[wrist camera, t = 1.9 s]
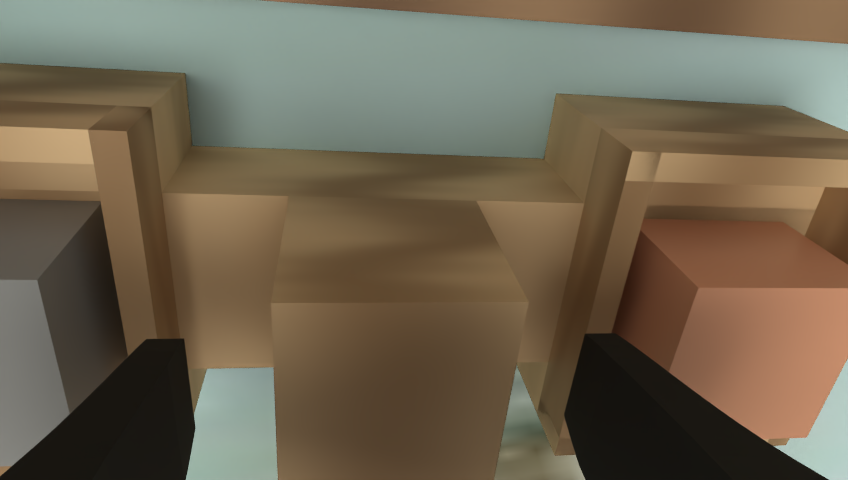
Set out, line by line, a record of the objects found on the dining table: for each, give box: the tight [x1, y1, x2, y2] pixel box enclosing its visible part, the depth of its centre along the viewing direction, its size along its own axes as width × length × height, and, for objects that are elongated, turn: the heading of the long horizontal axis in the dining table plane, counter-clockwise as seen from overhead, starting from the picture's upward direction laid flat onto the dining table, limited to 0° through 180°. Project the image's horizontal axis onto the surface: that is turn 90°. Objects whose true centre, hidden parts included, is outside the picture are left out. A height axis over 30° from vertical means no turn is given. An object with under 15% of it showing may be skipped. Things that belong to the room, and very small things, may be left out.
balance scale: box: [0, 63, 848, 480], centre depth 13 cm, size 22×8×7 cm, turn 85°
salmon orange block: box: [612, 219, 848, 439], centre depth 14 cm, size 4×4×3 cm
